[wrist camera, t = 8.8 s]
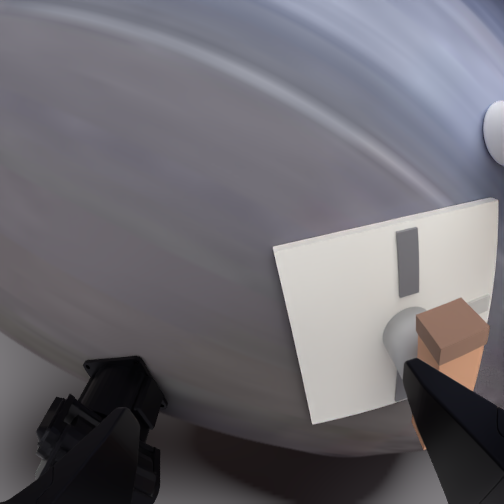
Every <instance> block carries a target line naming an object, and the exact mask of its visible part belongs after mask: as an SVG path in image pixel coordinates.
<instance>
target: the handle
mask: <svg viewBox="0 0 504 504" xmlns="http://www.w3.org/2000/svg"><path fill="white" fill-rule="evenodd" d="M489 329H490V326H489V325H488V324H487V323H486V322H485V321H484V320H483V319H482V318H481V317H480V316H479V315H478V314H477V313H476V312H475V311H474V310H473V309H472V308H471V307H470V306H469V305H468V304H467V303H466V302H465V301H464V300H463V299H462V298H458V299H456V300H453V301H451V302H448V303H446V304H443V305H441V306H438V307H435V308H433V309H430V310H428V311H425V312H422V313H420V314H417V315H416V332H417V334H418V351H417V358H419V359H420V360H422V361H424V362H425V363H427V364H429V365H430V366H432V367H434V368H435V369H437V370H439V371H440V372H442V373H443V374H445V375H447V376H448V377H450V378H452V379H453V380H455V381H457V382H458V383H460V384H462V385H463V386H465V387H467V388H468V389H470V390H471V391H473V390H474V386H475V382H476V379H477V375H478V371H479V366H480V362H481V358H482V353H483V348H484V345H485V344H487V340H488V334H489ZM412 424H413V426H414V428H415V431H416V433H417V435H418V438H419V440H420V442H421V445H422V447H423V450H426V447H425V445H424V442H423V440H422V438H421V435H420V433H419V431H418V429H417V426H416V423H415V420H414V417H413V414H412Z"/></svg>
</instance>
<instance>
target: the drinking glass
mask: <svg viewBox="0 0 504 504" xmlns="http://www.w3.org/2000/svg"><path fill="white" fill-rule="evenodd" d="M483 133H484V139H485V143H486V146H487V149H488V151H489V153H490V155H491V156H492V158H493V159H494V160H495V161H496V162H497V163H498V164H500V165H502V166H504V100H501V101H497V102H495V103H493V104H492V105H491V106H490V107H489V108H488V110H487V112H486V114H485V118H484V123H483Z"/></svg>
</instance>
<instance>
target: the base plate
mask: <svg viewBox="0 0 504 504" xmlns="http://www.w3.org/2000/svg"><path fill="white" fill-rule="evenodd" d="M497 239H498V200H497V199H494V198H492V197H489V198H485V199H480V200H476V201H472V202H467V203H463V204H458V205H454V206H450V207H445V208H441V209H436V210H432V211H428V212H423V213H419V214H414V215H410V216H406V217H401V218H397V219H392V220H388V221H384V222H379V223H375V224H370V225H366V226H362V227H357V228H353V229H348V230H344V231H340V232H335V233H331V234H326V235H322V236H318V237H313V238H309V239H305V240H300V241H296V242H291V243H287V244H283V245H278V246H274V247H273V251H274V256H275V260H276V264H277V268H278V273H279V277H280V281H281V285H282V290H283V294H284V298H285V303H286V307H287V311H288V316H289V320H290V324H291V329H292V333H293V338H294V342H295V347H296V351H297V356H298V360H299V365H300V369H301V374H302V379H303V383H304V388H305V393H306V397H307V402H308V407H309V411H310V416H311V421H312V424H317V423H322V422H326V421H331V420H335V419H339V418H343V417H347V416H351V415H355V414H359V413H363V412H366V411H370V410H373V409H377V408H380V407H383V406H386V405H390V404H393V403H396V402H399V401H402V400H405V399H408V398H407V395H406V392H405V389H404V386H403V368H404V362H405V361H407V360H410V359H413V358H417V351H418V334H417V332H416V315H417V314H420V313H422V312H425V311H428V310H430V309H433V308H435V307H438V306H441V305H443V304H446V303H448V302H451V301H453V300H456V299H458V298H462V299H463V300H464V301H465V302H466V303H467V304H468V305H469V306H470V307H471V308H472V309H473V310H474V311H475V312H476V313H477V314H478V315H479V316H480V317H481V318H482V319H483V320H484V321H485V322H486V323H487V321H488V315H489V310H490V304H491V297H492V291H493V283H494V275H495V265H496V254H497Z"/></svg>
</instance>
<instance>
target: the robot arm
mask: <svg viewBox="0 0 504 504" xmlns="http://www.w3.org/2000/svg"><path fill="white" fill-rule="evenodd" d="M136 361H137V362H138V363H137V362H136ZM83 366H84V368H85V370H86V371H87V373H88V374H89V376H90V377H91V378H90V380H89V381H88V383H87V385H86V387H85V389H84V390H83V392H82V394H81V396H80V398H79V399H78V400H76V399H75V397H74V396H73V395H71V394H69V395H68V397H67V398H66V399H64V398H59V397H56V398H55V400H54V401H53V403H52V405H51V406H50V408H49V410H48V411H47V413H46V415H45V417H44V418H43V420H42V422H41V424H40V426H39V427H38V429H37V431H36V434H37V438H38V441H39V442H38V444H37V445H38V446H39V447H38V449H37V452H36V455H38V456H39V457H41V458H42V461H41V463H40V465H39V467H38V469H37V471H36V474H35V477H36V481H34V482H33V483H32V484H30V485H29V486H28V487H26V488H25V489H23V490H22V491H21V492H19V493H18V494H16V495H15V496H13V497H12V498H11V499H9V500H7V501H5V502H0V504H153V503H154V502H155V500H156V498H157V495H158V492H159V488H160V450H159V449H157V448H155V447H152V446H150V445H148V444H146V440H147V436H148V433H149V430H150V429H153V428H154V426H155V423H156V419H157V416H158V413H159V410H160V409H166V408H167V405H168V403H167V401H166V400H165V398H164V396H163V394H162V392H161V391H160V389H159V387H158V386H157V384H156V382H155V380H154V379H153V377H152V376H151V374H150V373H149V371H148V369H147V367H146V366H145V364H144V362H143V360H142V359H141V358H140V357H138V356H131V357H121V358H110V359H98V360H87V361H85V363H84V364H83ZM403 386H404V389H405V392H406V395H407V398H408V401H409V404H410V408H411V411H412V414H413V417H414V420H415V423H416V426H417V429H418V431H419V433H420V435H421V438H422V440H423V442H424V445H425V447H426V449H427V452H428V454H429V456H430V458H431V461H432V463H433V466H434V468H435V471H436V473H437V475H438V478H439V480H440V483H441V486H442V488H443V491H444V493H445V496H446V498H447V501H448V504H504V410H503V409H501V408H500V407H498V408H497V406H496V405H495V404H493V403H491V402H490V401H488V400H486V399H485V398H483V397H481V396H480V395H478V394H476V393H475V392H473V391H471V390H470V389H468V388H467V387H465V386H463V385H462V384H460V383H458V382H457V381H455V380H453V379H452V378H450V377H448V376H447V375H445V374H443V373H442V372H440V371H439V370H437V369H435V368H434V367H432V366H430V365H429V364H427V363H425V362H424V361H422V360H420V359H419V358H413V359H410V360H407V361H405V362H404V368H403Z"/></svg>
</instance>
